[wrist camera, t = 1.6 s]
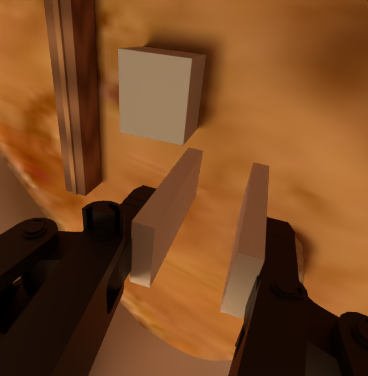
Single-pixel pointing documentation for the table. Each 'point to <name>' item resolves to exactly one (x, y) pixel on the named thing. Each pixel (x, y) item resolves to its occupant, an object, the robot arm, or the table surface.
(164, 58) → the block
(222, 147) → the table surface
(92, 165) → the brown wooden bar
